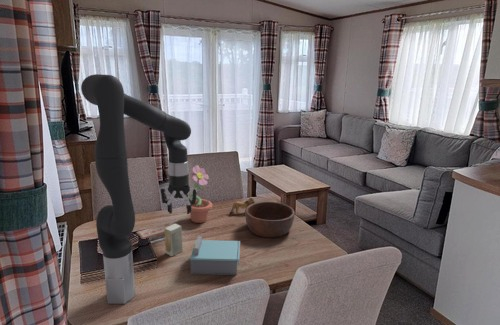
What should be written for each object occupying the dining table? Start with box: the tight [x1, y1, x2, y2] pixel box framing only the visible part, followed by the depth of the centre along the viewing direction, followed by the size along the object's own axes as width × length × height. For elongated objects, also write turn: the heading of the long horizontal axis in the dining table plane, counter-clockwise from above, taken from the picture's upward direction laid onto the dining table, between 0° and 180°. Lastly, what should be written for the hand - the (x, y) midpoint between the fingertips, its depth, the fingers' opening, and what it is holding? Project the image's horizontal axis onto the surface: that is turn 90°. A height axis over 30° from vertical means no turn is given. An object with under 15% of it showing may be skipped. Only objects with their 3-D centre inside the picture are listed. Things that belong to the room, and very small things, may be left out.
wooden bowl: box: [244, 201, 296, 239], centre depth 171 cm, size 25×25×10 cm
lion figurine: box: [229, 196, 256, 215], centre depth 190 cm, size 15×5×9 cm, turn 104°
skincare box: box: [164, 223, 184, 257], centre depth 146 cm, size 6×4×12 cm
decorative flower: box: [185, 164, 213, 224], centre depth 176 cm, size 15×14×30 cm
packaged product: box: [135, 223, 172, 245], centre depth 160 cm, size 18×5×10 cm
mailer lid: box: [189, 235, 241, 266], centre depth 137 cm, size 15×19×5 cm
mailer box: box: [189, 252, 238, 276], centre depth 139 cm, size 14×18×6 cm
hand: (179, 212), depth 133 cm, fingers open, 6 cm apart
